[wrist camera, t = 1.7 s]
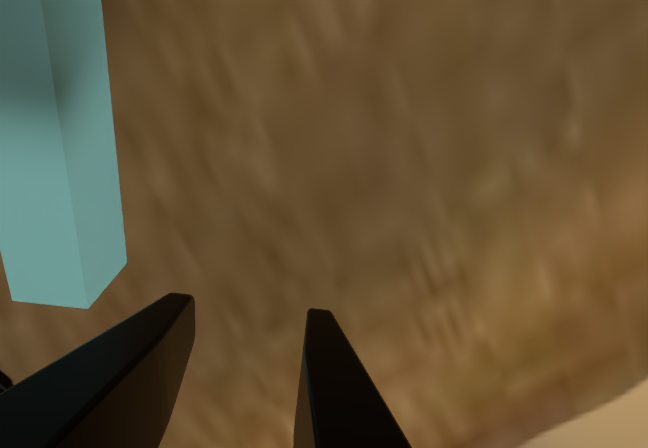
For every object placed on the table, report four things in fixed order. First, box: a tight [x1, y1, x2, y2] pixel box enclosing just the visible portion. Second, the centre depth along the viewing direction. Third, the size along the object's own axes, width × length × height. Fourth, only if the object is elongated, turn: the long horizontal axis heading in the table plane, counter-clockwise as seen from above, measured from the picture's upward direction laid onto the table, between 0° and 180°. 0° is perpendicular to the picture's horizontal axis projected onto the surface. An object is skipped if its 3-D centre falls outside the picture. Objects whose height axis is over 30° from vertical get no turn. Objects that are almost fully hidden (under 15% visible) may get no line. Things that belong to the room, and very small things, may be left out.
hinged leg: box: [0, 0, 127, 309], centre depth 13 cm, size 14×2×3 cm, turn 174°
